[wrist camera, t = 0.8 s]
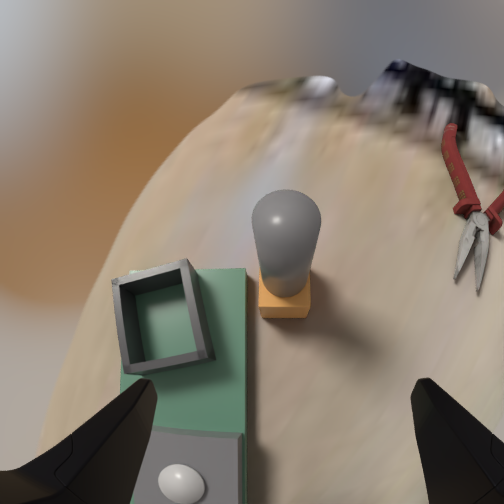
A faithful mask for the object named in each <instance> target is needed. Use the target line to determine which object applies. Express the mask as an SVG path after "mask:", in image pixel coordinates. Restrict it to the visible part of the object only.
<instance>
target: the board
mask: <svg viewBox="0 0 504 504" xmlns="http://www.w3.org/2000/svg"><path fill="white" fill-rule="evenodd" d="M136 272H140V271H130V273H129V274H133V273H136ZM196 272H197V275H198V280H199V285H200V290H201V294H202V299H203V304H204V308H205V313H206V317H207V322H208V326H209V331H210V335H211V339H212V344H213V348H214V352H215V356H216V361H212V362H208V363H203V364H199V365H194V366H189V367H184V368H179V369H174V370H169V371H164V372H159V373H153V374H148V375H142V376H140V375H129V374H124V370H123V365H122V359H121V380H120V394H121V393H122V392H123V391H125V390H126V389H127V388H128V387H129V386H131V385H132V384H133V383H134V382H135V381H137V380H138V379H140V378H146V379H151V380H152V382H153V384H154V387H155V389H156V392H157V396H158V400H157V405H156V410H155V416H154V421H153V425H156V426H163V427H171V428H180V429H190V430H202V431H216V432H239V433H242V504H247V272H246V269H245V268H235V269H196ZM135 298H136V305H137V312H138V319H139V326H140V332H141V338H142V344H143V350H144V355H145V360H146V361H151V360H156V359H161V358H166V357H171V356H176V355H181V354H185V353H190V352H194V351H197V349H196V345H195V340H194V336H193V331H192V326H191V322H190V317H189V312H188V307H187V302H186V297H185V291H184V286H183V283H182V284H178V285H174V286H171V287H167V288H163V289H159V290H156V291H152V292H148V293H144V294H140V295H136V296H135ZM130 504H134V494H133V495H132V498H131V502H130Z"/></svg>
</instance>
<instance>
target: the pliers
mask: <svg viewBox="0 0 504 504" xmlns="http://www.w3.org/2000/svg"><path fill="white" fill-rule="evenodd" d="M456 130H457V125H456V124H453V123H450V124H448V125H447V126H446V127H445V129H444V134H443V139H442V144H441V149H442V155H443V158H444V161H445V164H446V167H447V169H448V171H449V174H450V177H451V179H452V182H453V184H454V187H455V190H456V193H457V195H458V198H459V202H458V203H457V204H456V205H455V207H454V208H453V211H454V214H463V215H464V218H465V219H468V220H467V222H466V225H465V228H464V230H463V233H462V236H461V239H460V243H459V250H458V256H457V262H456V268H455V273H454V278H453V279H456V277H457V275H458V273H459V271H460V269H461V267H462V265H463V263H464V261H465V259H466V257H467V255H468V253H469V250H470V248H471V246H472V243H473V241H474V238H476V239H477V240H478V242H479V244H478V245H477V246H476V247H475V248H474V261H475V276H476V291H479V288H480V284H481V280H482V276H483V272H484V267H485V263H486V258H487V253H488V248H489V232H490V233H491V235H493V234H494V233H495V232H497V231H498V230H499V229H500V228H501V226H502V220H501V218H500V217H499V216H498V214H499V213H500V212H501V211H502V209H503V208H504V190H503V192H502V193H501V194H500V195H499V196H498V198H497V199H496V200H495V201H494V202H493V203H492V204H491V205H490V206H489V207H488V208H487V210H486V211H485V212H484V213H482V212H480V211H481V210H482V208H481V206H480V204H481V203H480V201H479V199H478V197H477V195H476V192H475V189H474V187H473V184H472V182H471V179H470V177H469V174H468V172H467V170H466V167H465V165H464V163H463V160H462V158H461V156H460V154H459V151H458V149H457V145H456V139H455V137H456ZM474 235H475V236H474Z"/></svg>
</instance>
